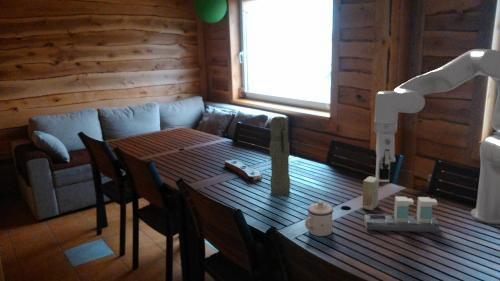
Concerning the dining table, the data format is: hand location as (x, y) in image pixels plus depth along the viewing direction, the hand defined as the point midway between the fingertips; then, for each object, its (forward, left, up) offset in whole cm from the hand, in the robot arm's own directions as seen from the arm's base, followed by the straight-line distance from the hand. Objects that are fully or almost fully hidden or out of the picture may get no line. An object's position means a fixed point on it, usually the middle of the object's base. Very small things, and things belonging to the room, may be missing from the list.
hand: (382, 176), depth 144 cm
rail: (-7, -1, -20) cm, 21 cm away
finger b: (-7, -1, -18) cm, 19 cm away
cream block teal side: (-15, -1, -18) cm, 23 cm away
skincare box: (+1, -18, -20) cm, 27 cm away
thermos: (+39, -32, -20) cm, 54 cm away
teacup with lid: (+23, +6, -20) cm, 31 cm away
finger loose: (0, 0, -2) cm, 2 cm away
